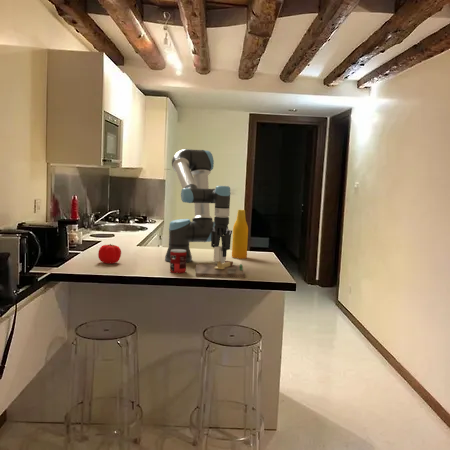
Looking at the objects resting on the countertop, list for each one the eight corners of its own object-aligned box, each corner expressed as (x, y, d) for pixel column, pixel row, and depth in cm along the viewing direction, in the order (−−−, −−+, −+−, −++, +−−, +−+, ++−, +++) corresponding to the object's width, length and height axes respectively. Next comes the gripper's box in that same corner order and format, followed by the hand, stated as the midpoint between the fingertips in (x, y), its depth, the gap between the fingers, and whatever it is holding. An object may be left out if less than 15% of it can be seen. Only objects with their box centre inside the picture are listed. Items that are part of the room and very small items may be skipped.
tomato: (98, 265, 244) (98, 245, 243) (97, 261, 255) (98, 242, 254) (121, 265, 247) (122, 245, 246) (120, 261, 258) (120, 242, 257)
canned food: (170, 270, 240) (170, 248, 239) (185, 270, 241) (186, 249, 239) (169, 273, 232) (170, 251, 231) (185, 273, 233) (186, 251, 232)
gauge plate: (195, 276, 228) (195, 268, 228) (195, 266, 252) (196, 259, 251) (244, 277, 229) (245, 269, 229) (240, 267, 253) (240, 260, 253)
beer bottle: (235, 259, 279) (237, 210, 276) (229, 256, 288) (231, 209, 285) (249, 258, 283) (251, 210, 280) (243, 256, 291) (245, 209, 288)
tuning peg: (211, 268, 239) (212, 246, 238) (225, 265, 250) (226, 244, 249) (220, 270, 236) (221, 248, 235) (233, 266, 248) (234, 245, 246)
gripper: (205, 215, 241) (203, 260, 243) (228, 218, 229) (226, 265, 232) (215, 214, 246) (213, 258, 249) (239, 217, 235) (236, 264, 237)
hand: (219, 262), depth 240 cm, fingers closed on tuning peg, 4 cm apart
